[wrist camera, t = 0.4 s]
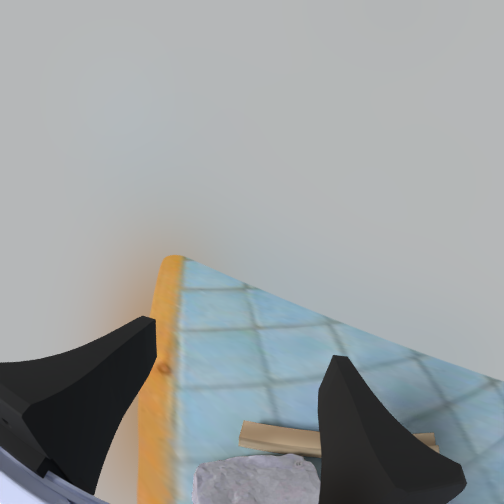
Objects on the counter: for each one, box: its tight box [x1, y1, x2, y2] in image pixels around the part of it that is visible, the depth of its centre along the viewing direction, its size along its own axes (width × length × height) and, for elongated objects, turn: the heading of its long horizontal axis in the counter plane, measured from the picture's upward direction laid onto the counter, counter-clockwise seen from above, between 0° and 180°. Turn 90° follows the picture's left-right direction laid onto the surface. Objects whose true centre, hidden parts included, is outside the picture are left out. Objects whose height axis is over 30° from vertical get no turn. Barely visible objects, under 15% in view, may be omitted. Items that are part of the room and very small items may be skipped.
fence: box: [239, 420, 440, 458], centre depth 18 cm, size 13×21×4 cm, turn 78°
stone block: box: [192, 454, 321, 504], centre depth 18 cm, size 12×5×10 cm
